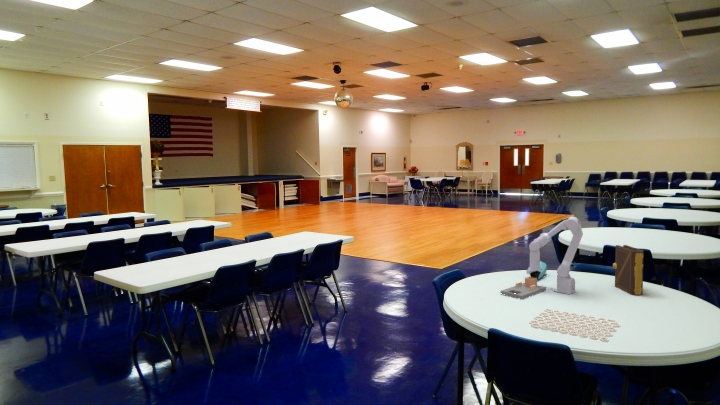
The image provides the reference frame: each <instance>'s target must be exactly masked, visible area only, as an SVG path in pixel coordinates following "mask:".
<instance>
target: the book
mask: <svg viewBox="0 0 720 405" xmlns="http://www.w3.org/2000/svg"><path fill="white" fill-rule="evenodd" d="M644 252H645V251H644V250H643V249H640V248H636V247H633V246H630V245H627V244H623V245H620V244H615V256H614V257H615V258H614V263H612V268H613V269H614V287H615V288H617V289H619V290H621V291H623V292H625V293H626V294H628V295H631V296H643V292H644V291H643V289H644V283H643V282H644V256H645V254H644Z"/></svg>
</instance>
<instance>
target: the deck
mask: <svg viewBox="0 0 720 405" xmlns="http://www.w3.org/2000/svg"><path fill="white" fill-rule="evenodd" d="M546 290H547V287H546V286H541V285H537V287H536V285H531V286H530V287H526V286H525V282H523V281H518V282H515V285H514V286H511V287H508V288H504V289H502V290H500V293H502V294H505V295H504V296H506V295H509V296H508V297H510V296H512V297H511V298H514V297H516V298H515V299H518V298H520V299H519V300H524V298H525V299H527V298H530V297H532V295H533V296H535V295H537V294H541V293H543V292H545V291H546ZM514 293H516V294H514ZM529 296H530V297H529ZM526 297H527V298H526Z"/></svg>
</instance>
